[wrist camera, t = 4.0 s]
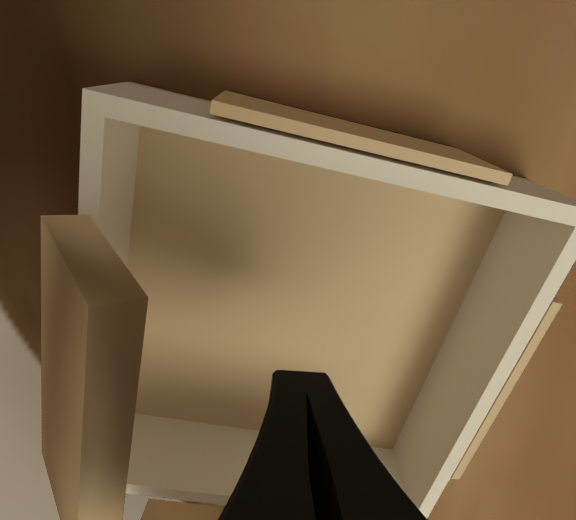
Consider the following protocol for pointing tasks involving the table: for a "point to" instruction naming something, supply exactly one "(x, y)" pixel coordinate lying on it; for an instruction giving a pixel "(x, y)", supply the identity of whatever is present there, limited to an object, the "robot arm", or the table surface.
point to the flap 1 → (88, 367)
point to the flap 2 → (179, 511)
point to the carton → (315, 279)
